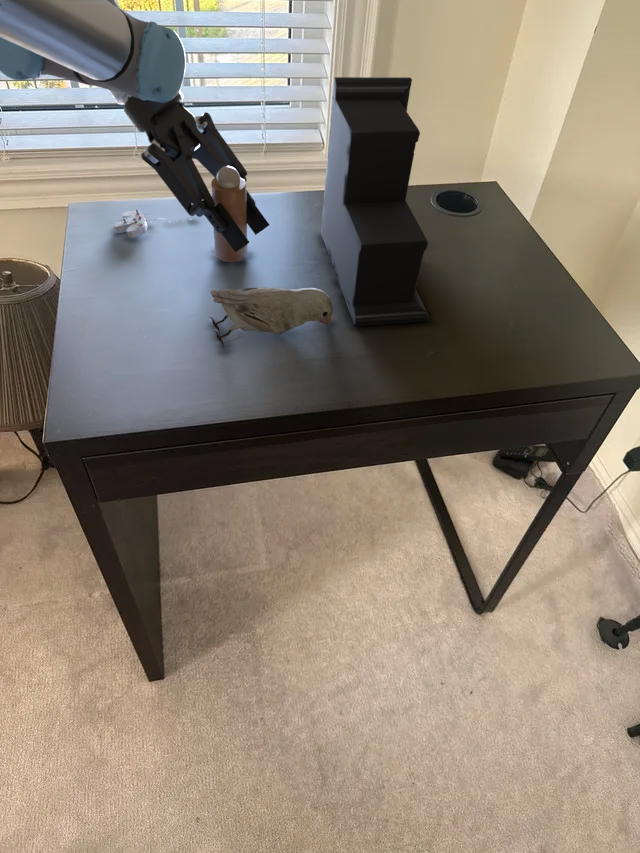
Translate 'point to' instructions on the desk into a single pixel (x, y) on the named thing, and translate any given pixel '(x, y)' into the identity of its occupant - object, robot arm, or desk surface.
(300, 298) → the decorative bird
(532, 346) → the desk surface
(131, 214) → the game controller
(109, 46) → the robot arm
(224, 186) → the pepper mill
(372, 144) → the bookend
